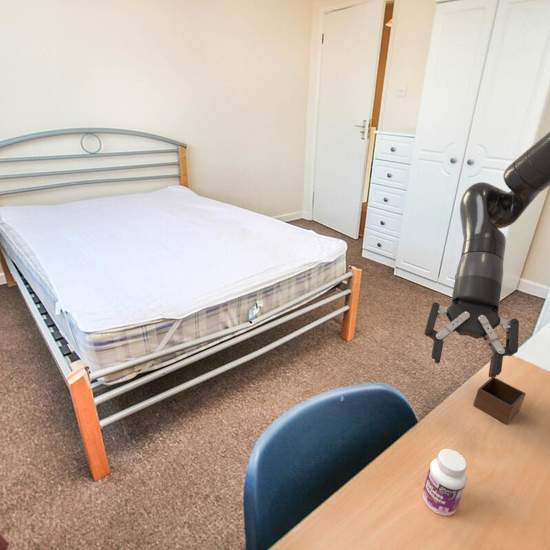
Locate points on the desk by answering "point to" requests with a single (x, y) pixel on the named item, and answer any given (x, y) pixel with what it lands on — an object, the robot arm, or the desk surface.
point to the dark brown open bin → (499, 400)
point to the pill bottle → (445, 482)
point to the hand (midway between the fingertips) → (464, 369)
